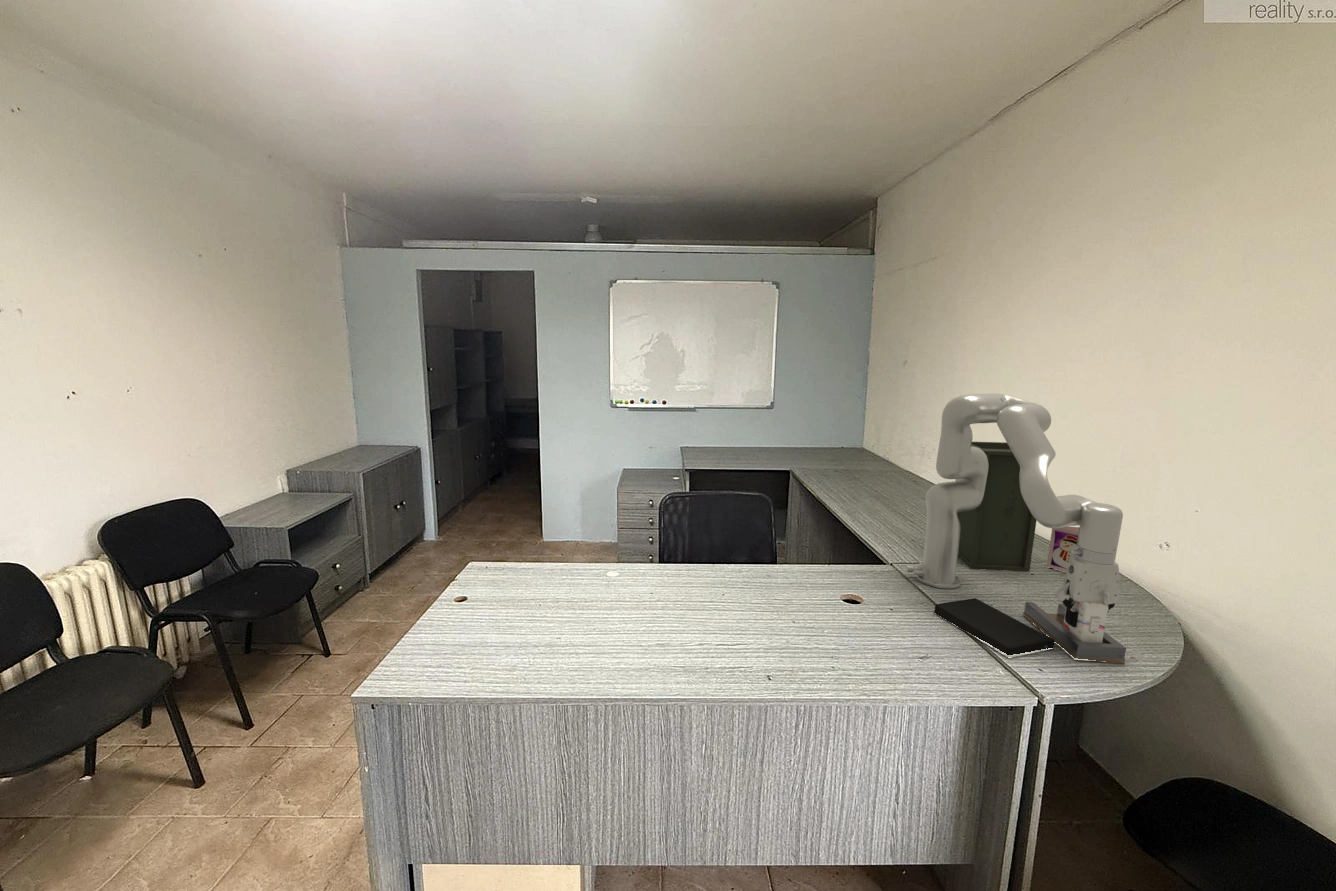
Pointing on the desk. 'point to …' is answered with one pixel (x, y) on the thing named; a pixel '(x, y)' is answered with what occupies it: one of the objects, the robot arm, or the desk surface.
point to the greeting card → (1062, 547)
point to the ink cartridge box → (1090, 621)
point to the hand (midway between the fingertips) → (1083, 624)
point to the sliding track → (1068, 641)
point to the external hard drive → (993, 626)
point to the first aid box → (998, 517)
